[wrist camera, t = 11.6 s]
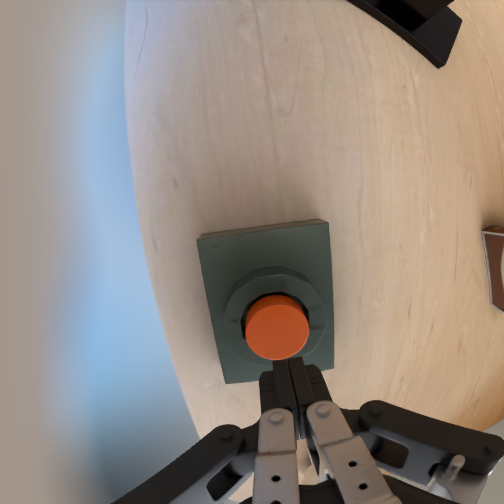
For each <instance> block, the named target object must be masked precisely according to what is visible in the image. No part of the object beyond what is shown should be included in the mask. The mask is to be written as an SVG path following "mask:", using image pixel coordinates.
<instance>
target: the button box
mask: <svg viewBox="0 0 504 504" xmlns="http://www.w3.org/2000/svg"><path fill="white" fill-rule="evenodd" d="M197 246H198V252H199V258H200V263H201V269H202V275H203V280H204V285H205V291H206V296H207V301H208V306H209V311H210V316H211V321H212V326H213V330H214V335H215V340H216V344H217V349H218V353H219V358H220V362H221V367H222V371H223V375H224V380H225V383H226V384H232V383H243V382H252V381H259V377H260V375H261V374H262V372H265V371H272V370H273V366H272V361H273V360H270V359H266V358H263V357H261V356H259V355H257V354H256V353H254V352H253V351H252V350H251V348H250V347H249V345H248V343H247V341H246V335H245V320H246V315H247V313H248V311H249V309H250V308H251V306H252V305H253V304H254V303H255V302H257V301H258V300H260V299H262V298H264V297H266V296H270V295H283V296H287V297H289V298H292V299H293V300H295V301H296V302H297V303H298V304H299V305H300V307H301V308H302V310H303V312H304V314H305V317H306V319H307V321H308V324H309V336H308V339H307V341H306V343H305V345H304V346H303V347H302V349H301V350H300V351H299V352H297V353H296V354H294V355H293V356H291V357H288V358H293V357H300V356H302V358H303V361H304V364H305V365H310V364H314V365H316V366H317V367H318V368H319V369H320V370H321V371H324V370H329V369H333V368H334V307H333V282H332V263H331V248H330V235H329V223H328V222H326V221H324V220H321V219H315V220H307V221H299V222H291V223H283V224H275V225H267V226H259V227H252V228H245V229H237V230H230V231H223V232H216V233H209V234H202V235H201V236H200V237H199V238H198V239H197ZM285 359H287V358H285ZM287 364H288V363H287Z"/></svg>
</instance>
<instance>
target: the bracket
mask: <svg viewBox="0 0 504 504" xmlns="http://www.w3.org/2000/svg"><path fill="white" fill-rule="evenodd" d="M347 1H349V2H350V3H352V4H354V5H355V6H357V7H359V8H360V9H362V10H363V11H365V12H366V13H368V14H370V15H371V16H373V17H374V18H376V19H377V20H378V21H380V22H381V23H383V24H384V25H386V26H387V27H388V28H390V29H391V30H392V31H394V32H395V33H396V34H398V35H399V36H400V37H402V38H403V39H404V40H405V41H407V42H408V43H409V44H410V45H412V46H413V47H414V48H415V49H417V50H418V51H419V52H420V53H421V54H422V55H424V56H425V57H426V58H427V59H428V60H429V61H430V62H431V63H432V64H434V65H435V66H436V67H437V68H438V69H439V68H440V67H442V66H444V65H446V62H447V60H448V57H449V55H450V52H451V50H452V47H453V45H454V42H455V39H456V37H457V34H458V31H459V29H460V26H461V23H462V19H461V18H460V17H458V16H457V15H456V14H455V13H454V12H453V11H452V10H451V9H450V8H449V7H447V5H449V4H450V3H451V2H453V1H454V0H347Z"/></svg>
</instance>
